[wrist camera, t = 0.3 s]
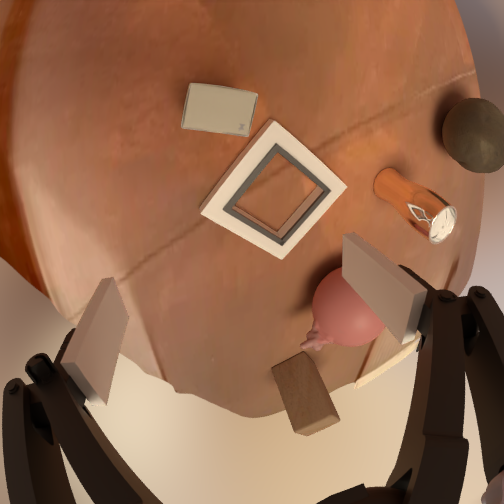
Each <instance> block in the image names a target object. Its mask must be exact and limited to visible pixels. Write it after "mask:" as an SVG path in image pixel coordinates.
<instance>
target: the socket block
mask: <svg viewBox="0 0 504 504" xmlns="http://www.w3.org/2000/svg"><path fill="white" fill-rule="evenodd" d="M277 152H278V153H280V154H281V155H282V156H283V157H285V158H286V159H287V160H288V161H290V162H291V163H292V164H293V165H294V166H296V167H297V168H298V169H299V170H300V171H302V172H303V173H304V174H305V175H306V176H307V177H309V178H310V179H311V180H312V181H313V182H314V183H316V184H317V185H318V186H317V187H316V188H315V189H314V190H313V191H312V193H311V194H310V195H309V196H308V197H307V198H306V200H305V201H304V202H303V203H302V204H301V205H300V206H299V208H298V209H297V210H296V211H295V212H294V213H293V214H292V216H291V217H290V218H289V219H288V220H287V221H286V222H285V224H284V225H283V226H282V227H281V228H280V229H279V230H278V232H276V231H274V230H273V229H271V228H270V227H268V226H267V225H265V224H263V223H262V222H260V221H259V220H257V219H256V218H254V217H252V216H251V215H249V214H248V213H246V212H244V211H243V210H241V209H240V208H238V207H236V206H235V204H236V202H237V201H238V200H239V199H240V197H241V196H242V195H243V194H244V192H245V191H246V190H247V189H248V187H249V186H250V185H251V184H252V182H253V181H254V180H255V179H256V178H257V176H258V175H259V174H260V173H261V171H262V170H263V169H264V168H265V167H266V165H267V164H268V163H269V162H270V161H271V159H272V158H273V157H274V156H275V155H276V153H277ZM346 188H347V186H346V185H345V184H344V183H343V182H342V181H341V180H340V179H339V178H338V177H337V176H336V175H335V174H334V173H333V172H332V171H331V170H330V169H329V168H328V167H327V166H325V165H324V164H323V163H322V162H321V161H320V160H319V159H318V158H317V157H316V156H315V155H314V154H313V153H311V152H310V151H309V150H308V149H307V148H306V147H305V146H304V145H303V144H301V143H300V142H299V141H298V140H297V139H296V138H295V137H293V136H292V135H291V134H290V133H289V132H288V131H286V130H285V129H284V128H283V127H282V126H281V125H279V124H278V123H277V122H276V121H274V120H272V119H270V118H269V120H268V121H267V122H266V123H265V124H264V126H263V127H262V128H261V129H260V130H259V132H258V133H257V134H256V135H255V136H254V138H253V139H252V140H251V141H250V142H249V144H248V145H247V146H246V147H245V149H244V150H243V151H242V152H241V154H240V155H239V156H238V157H237V159H236V160H235V161H234V162H233V164H232V165H231V166H230V168H229V169H228V170H227V171H226V173H225V174H224V175H223V177H222V178H221V179H220V180H219V182H218V183H217V184H216V186H215V187H214V188H213V190H212V191H211V192H210V194H209V195H208V196H207V198H206V199H205V200H204V202H203V203H202V205H201V206H200V207H199V208H200V214H202V215H204V216H205V217H207V218H209V219H211V220H212V221H214V222H216V223H218V224H219V225H221V226H223V227H225V228H227V229H228V230H230V231H232V232H234V233H235V234H237V235H239V236H241V237H242V238H244V239H246V240H248V241H250V242H251V243H253V244H255V245H257V246H258V247H260V248H262V249H264V250H265V251H267V252H269V253H271V254H272V255H274V256H276V257H278V258H279V259H281V260H282V259H283V258H284V257H285V256H286V255H287V254H288V253H289V252H290V250H291V249H292V248H293V247H294V246H295V245H296V244H297V243H298V242H299V241H300V239H301V238H302V237H303V236H304V235H305V234H306V233H307V232H308V231H309V229H310V228H311V227H312V226H313V225H314V224H315V223H316V222H317V221H318V219H319V218H320V217H321V216H322V215H323V214H324V213H325V212H326V210H327V209H328V208H329V207H330V206H331V205H332V204H333V202H334V201H335V200H336V199H337V198H338V197H339V196H340V195H341V193H342V192H343V191H344V190H345V189H346Z"/></svg>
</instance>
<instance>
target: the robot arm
mask: <svg viewBox="0 0 504 504" xmlns="http://www.w3.org/2000/svg"><path fill="white" fill-rule="evenodd" d="M342 277H343V278H344V279H345V280H346V281H347V282H348V283H349V284H350V286H351V287H352V288H353V289H354V290H355V291H356V292H357V293H358V295H359V296H360V297H361V298H362V299H363V300H364V301H365V303H366V304H367V305H368V306H369V307H370V308H371V309H372V311H373V312H374V313H375V314H376V315H377V316H378V318H379V319H380V320H381V321H382V322H383V323H384V325H385V326H386V327H387V328H388V329H389V330H390V332H391V333H392V334H393V335H394V336H395V338H396V339H397V340H398V341H399V342H400V344H401V345H402V344H405V343H407V342H409V341H412V340H414V338H415V335H416V331H417V330H418V331H419V332H420V333H421V334H422V335H421V338H420V341H419V344H418V347H417V350H416V352H418V351H419V353H418V362H417V370H416V377H415V384H414V390H413V396H412V401H411V406H410V411H409V416H408V421H407V425H406V430H405V433H404V437H403V441H402V445H401V448H400V452H399V455H398V459H397V462H396V465H395V468H394V469H393V471H392V473H391V475H390V477H389V479H388V481H387V484H386V486H385V487H368V488H365V486H364V484H360V485H358V486H355V487H353V488H350V489H347V490H345V491H342V492H339V493H336V494H333V495H331V496H329V497H327V498H325V499H324V500H322V501H320V502H318V503H317V504H458V503H459V500H460V495H461V491H462V487H463V482H464V477H465V471H466V465H467V458H468V451H469V442H468V440H467V439H465V438H463V424H464V409H465V372H466V376H467V379H468V383H469V387H470V390H471V395H472V399H473V404H474V408H475V413H476V418H477V423H478V429H479V435H480V441H481V449H482V458H483V465H484V472H485V476H486V480H487V483H488V486H487V489H486V492H485V493H484V494H483V495H482V498H481V501H482V504H504V315H503V313H502V311H501V310H500V308H499V306H498V304H497V303H496V301H495V300H494V298H493V296H492V295H491V293H490V292H489V291H488V290H487V289H485V288H484V287H482V286H472V287H471V288H470V289H469V292H468V295H467V296H463V297H457V296H456V295H455V294H454V293H453V292H451V291H448V290H436V289H434V288H433V287H432V286H431V285H429V284H428V283H427V282H426V281H425V280H423V279H422V278H420V276H418V275H417V274H415V273H414V272H413V271H412V270H411V269H409V268H407V267H405V266H402V265H396V264H395V263H394V262H393V261H391V260H390V259H389V258H388V257H386V256H385V255H384V254H382V253H381V252H380V251H378V250H377V249H376V248H375V247H373V246H372V245H371V244H369V243H368V242H367V241H365V240H364V239H363V238H361V237H360V236H358V235H357V234H356V233H348V234H343V254H342ZM128 319H129V315H128V312H127V310H126V308H125V305H124V303H123V300H122V298H121V295H120V293H119V290H118V288H117V285H116V282H115V280H114V277H111V278H105V279H102V280H101V282H100V283H99V285H98V287H97V289H96V291H95V293H94V294H93V296H92V298H91V300H90V302H89V304H88V306H87V308H86V309H85V311H84V313H83V315H82V317H81V319H80V321H79V323H78V325H77V328H73V329H72V330H71V331H70V332H69V333H68V334H67V335H66V337H65V340H64V342H63V344H62V346H61V348H60V350H59V352H58V354H57V356H56V358H55V361H54V363H52V361H51V360H50V358H49V357H48V355H47V354H45V353H39V354H36V355H34V356H33V357H32V358H30V359H29V361H28V362H27V364H26V366H25V371H26V372H27V374H28V375H29V377H30V378H31V379H32V381H33V382H34V383H32V384H29V385H25V383H24V382H23V381H22V380H21V379H20V378H15V379H12V380H10V381H9V382H8V383H7V384H6V386H5V388H4V392H3V412H2V436H3V455H4V466H5V475H6V482H7V489H8V494H9V500H10V504H76V502H75V499H74V496H73V493H72V490H71V487H70V483H69V480H68V477H67V473H66V470H65V466H64V462H63V458H62V454H61V449H60V446H61V448H62V450H63V452H64V453H65V455H66V457H67V459H68V461H69V463H70V465H71V467H72V468H73V470H74V472H75V473H76V475H77V477H78V479H79V480H80V482H81V484H82V485H83V487H84V489H85V490H86V492H87V493H88V495H89V496H90V497H91V499H92V501H93V502H94V503H95V504H163V503H162V502H161V501H160V500H159V499H158V498H157V497H156V496H155V495H154V494H153V493H152V492H151V491H150V490H149V489H148V488H147V487H146V486H145V484H144V483H143V482H142V481H141V480H140V479H139V478H138V477H137V476H136V474H135V473H134V472H133V471H132V470H131V469H130V467H129V466H128V465H127V463H126V462H125V461H124V460H123V458H122V457H121V456H120V455H119V453H118V452H117V451H116V449H115V448H114V447H113V445H112V444H111V443H110V441H109V440H108V439H107V437H106V436H105V434H104V433H103V432H102V430H101V428H100V427H99V426H98V424H97V423H96V421H95V419H94V418H93V417H92V415H91V413H90V412H89V410H88V409H87V407H86V406H85V405H84V403H85V400H86V398H87V400H88V401H89V402H90V403H91V404H92V406H106V405H107V401H108V397H109V392H110V388H111V383H112V378H113V375H114V371H115V367H116V363H117V359H118V355H119V351H120V347H121V344H122V340H123V337H124V333H125V330H126V326H127V323H128ZM59 444H60V445H59Z"/></svg>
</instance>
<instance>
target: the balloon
mask: <svg viewBox="0 0 504 504" xmlns="http://www.w3.org/2000/svg"><path fill="white" fill-rule="evenodd" d="M312 312H313V318H314V321H313V326H312V330H311V331H309V332H308V333H307V336H306V337H307V340H306V341H304V342H303V343H301V344H300V347H301V348H302V349H305V348H309V347H310V348H313V349H314V350H316V351H319V350H321V348H322V347H323V345H324V344H329V343H330V344H334V343H335V344H338V345H341V346H348V347H353V346H360V345H363V344H366V343H368V342H370V341H372V340H373V339H375V338H376V337H377V336H378V335H379V334H380V333H381V332H382V331H383V330H384V328H385V327H386V326H385V325H384V323H383V322H382V321H381V320H380V319H379V318H378V316H377V315H376V314H375V313H374V312H373V311H372V309H371V308H370V307H369V306H368V305H367V304H366V303H365V301H364V300H363V299H362V298H361V297H360V296H359V295H358V293H357V292H356V291H355V290H354V289H353V288H352V287H351V286H350V284H349V283H348V282H347V281H346V280H345V279H344V278H343V277H342V267H340V268H338V269H336V270H334V271H332V272H331V273H329V274H328V275H327V276H326V277H325V278H324V279H323V280H322V281H321V282H320V284H319V285H318V287H317V289H316V291H315V294H314V297H313V303H312Z"/></svg>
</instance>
